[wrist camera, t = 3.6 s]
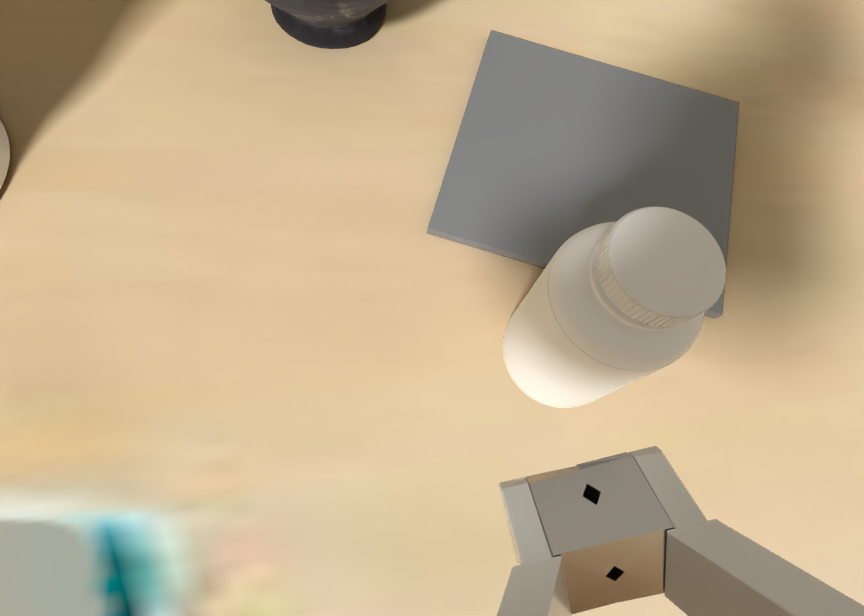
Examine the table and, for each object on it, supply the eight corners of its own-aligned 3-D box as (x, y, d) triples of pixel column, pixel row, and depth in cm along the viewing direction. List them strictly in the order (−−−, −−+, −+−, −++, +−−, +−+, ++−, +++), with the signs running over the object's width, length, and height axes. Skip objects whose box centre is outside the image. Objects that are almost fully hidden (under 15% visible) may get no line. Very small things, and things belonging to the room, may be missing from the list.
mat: (426, 233, 38) (427, 228, 38) (489, 37, 45) (490, 30, 45) (715, 318, 38) (722, 314, 37) (733, 109, 45) (739, 102, 44)
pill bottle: (599, 294, 38) (728, 176, 24) (622, 405, 35) (783, 345, 21) (492, 300, 37) (561, 181, 23) (508, 414, 34) (597, 358, 20)
